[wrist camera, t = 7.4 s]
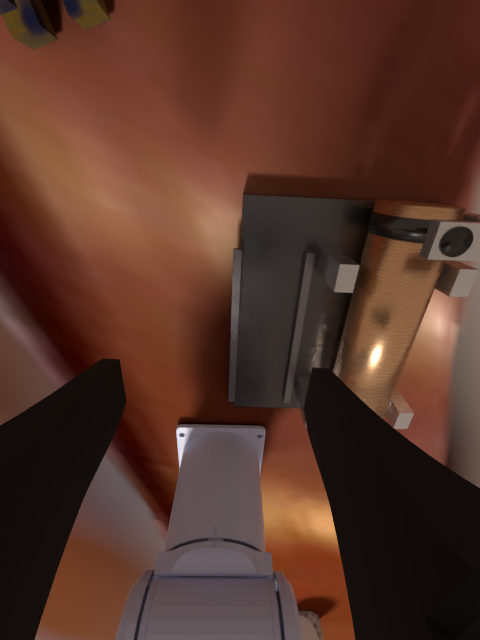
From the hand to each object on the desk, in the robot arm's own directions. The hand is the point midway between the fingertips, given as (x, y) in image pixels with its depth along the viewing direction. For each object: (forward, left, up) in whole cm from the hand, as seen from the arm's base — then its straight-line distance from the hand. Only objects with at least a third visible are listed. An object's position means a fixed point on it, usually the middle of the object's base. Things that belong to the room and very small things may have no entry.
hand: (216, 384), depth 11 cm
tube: (-1, -9, -9) cm, 13 cm away
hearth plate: (-2, -7, -10) cm, 12 cm away
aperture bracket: (+5, -11, -9) cm, 15 cm away
